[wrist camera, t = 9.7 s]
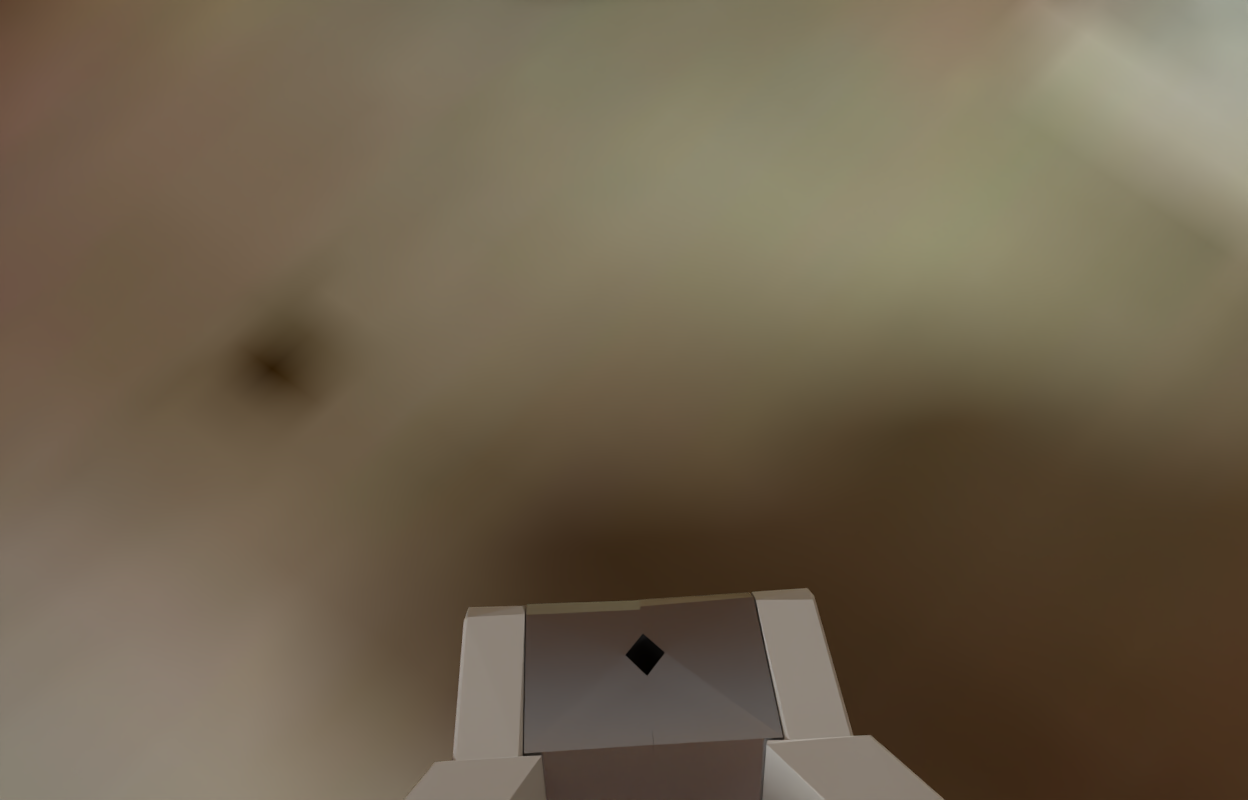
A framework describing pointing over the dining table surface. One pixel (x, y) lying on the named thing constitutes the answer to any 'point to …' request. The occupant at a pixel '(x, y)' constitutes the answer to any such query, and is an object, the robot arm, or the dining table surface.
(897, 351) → the dining table surface
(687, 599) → the robot arm
